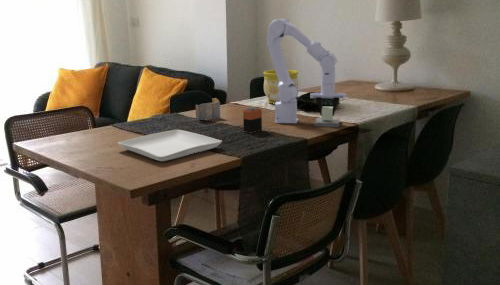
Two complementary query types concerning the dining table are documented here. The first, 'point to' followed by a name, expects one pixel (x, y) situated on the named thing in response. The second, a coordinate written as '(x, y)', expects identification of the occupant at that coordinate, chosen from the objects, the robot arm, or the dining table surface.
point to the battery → (252, 119)
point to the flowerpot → (275, 84)
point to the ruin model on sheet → (208, 110)
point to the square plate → (170, 144)
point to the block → (327, 113)
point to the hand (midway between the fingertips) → (327, 115)
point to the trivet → (327, 122)
